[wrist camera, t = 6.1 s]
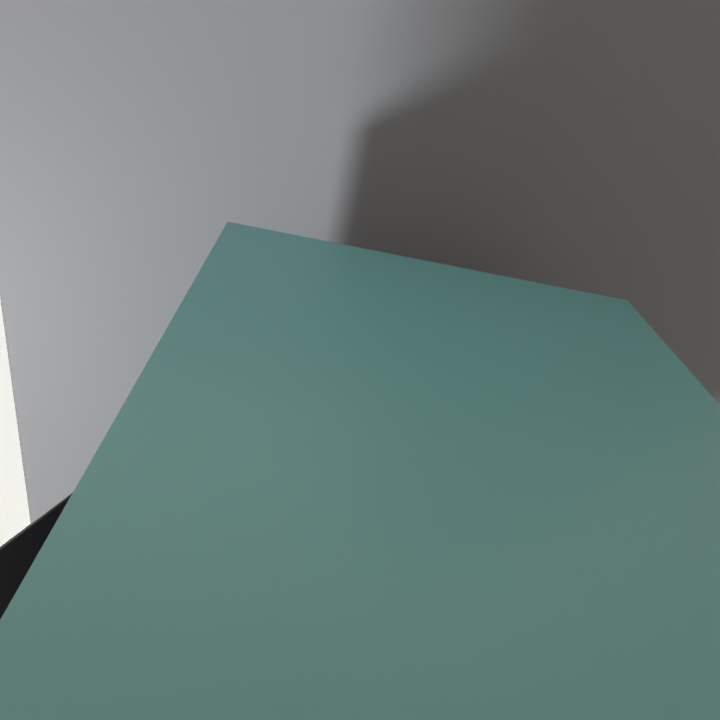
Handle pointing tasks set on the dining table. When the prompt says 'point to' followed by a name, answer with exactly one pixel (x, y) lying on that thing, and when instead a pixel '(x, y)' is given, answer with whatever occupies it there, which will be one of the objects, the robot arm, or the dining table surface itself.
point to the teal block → (384, 509)
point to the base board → (339, 167)
